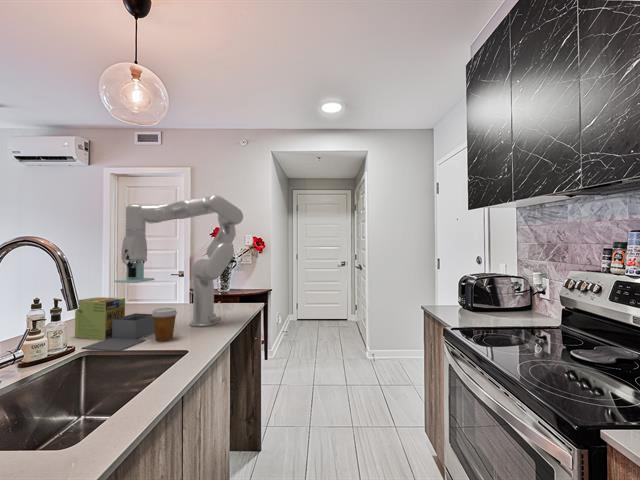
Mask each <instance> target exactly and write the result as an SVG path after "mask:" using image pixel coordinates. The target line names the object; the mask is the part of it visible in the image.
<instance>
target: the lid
mask: <svg viewBox="0 0 640 480" xmlns="http://www.w3.org/2000/svg"><path fill="white" fill-rule="evenodd" d="M144 265H145V263H135V268H136V277H128V268H127V267H126V277H125V278H124V279H115V280H114V283H116V284H117V283H121V284H136V283H137V284H138V283H144V282H149V281H155V278H154V277H145V276H144V272H145V271H144V269H145V266H144Z"/></svg>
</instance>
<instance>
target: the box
mask: <svg viewBox="0 0 640 480" xmlns="http://www.w3.org/2000/svg"><path fill="white" fill-rule="evenodd" d="M153 334H155V330H154V322H153V316H152V313H138V312H136V313H131V314H128V315H125V316H124V317H120V318H117V319H113V320H112V338H123V339H143V338H145V337H147V336H149V335H153Z"/></svg>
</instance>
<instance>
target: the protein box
mask: <svg viewBox="0 0 640 480" xmlns="http://www.w3.org/2000/svg"><path fill="white" fill-rule="evenodd" d="M79 305H80V308H79V309H77V310H75V311H74V312H75V313H74V338H76V339H85V340H86V339H87V340H88V339H90V340H101V341H103V340H106V339H109V338H112V320H113V319H117V318H120V317H124V316H126V298H125V297H103V296H102V297H101V296H100V297H99V296H98V297H92V298H91V297H90V298H85V299H83V298H82V299H79Z"/></svg>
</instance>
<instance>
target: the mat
mask: <svg viewBox="0 0 640 480" xmlns="http://www.w3.org/2000/svg"><path fill="white" fill-rule="evenodd" d="M146 341H147V339H143V338H140V339H123V338H109V339H106V340H101V341H97V342H95V343H91V344H89V345H85V346H84V347H83V346H82V347H81V350H92V351H94V350H95V351H104V352H118V353H119V352H122V351H124V350H127V349H130V348H132V347H134V346H137V345H139V344H142V343H143V342H146Z"/></svg>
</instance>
